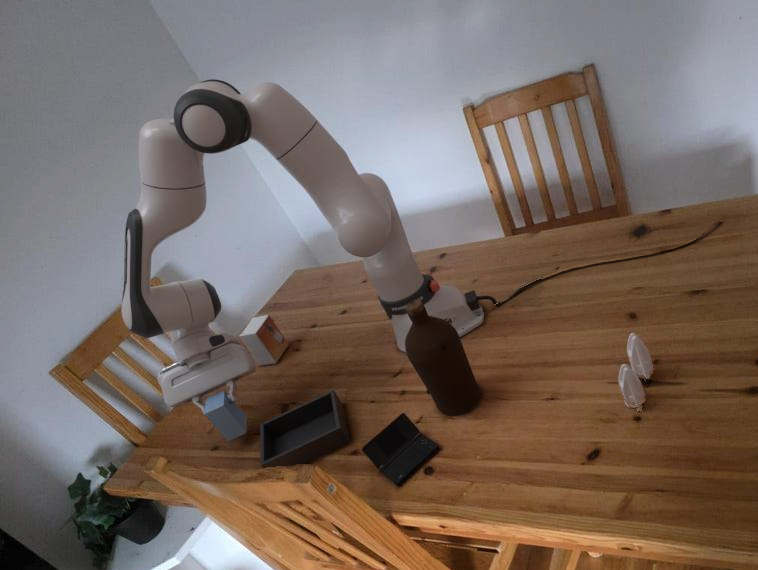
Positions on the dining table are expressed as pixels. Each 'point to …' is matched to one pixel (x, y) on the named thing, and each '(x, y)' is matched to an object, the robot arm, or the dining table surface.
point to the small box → (264, 340)
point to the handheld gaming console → (399, 449)
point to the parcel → (225, 416)
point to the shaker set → (634, 371)
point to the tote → (304, 432)
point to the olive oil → (440, 361)
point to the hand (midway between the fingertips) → (221, 408)
